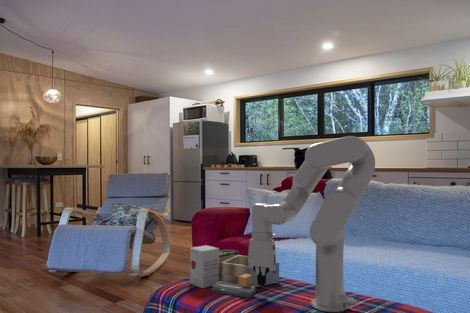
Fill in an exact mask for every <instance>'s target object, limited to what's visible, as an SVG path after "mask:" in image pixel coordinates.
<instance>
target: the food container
mask: <svg viewBox="0 0 470 313" xmlns="http://www.w3.org/2000/svg"><path fill="white" fill-rule="evenodd" d="M237 255H240V253H239V250H236V249H221V250H220V249H219V277H220V263H221V262H223V261H226V260H228V259H230V258H232V257H235V256H237Z"/></svg>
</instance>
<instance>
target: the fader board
mask: <svg viewBox="0 0 470 313" xmlns="http://www.w3.org/2000/svg"><path fill="white" fill-rule="evenodd" d="M210 292H212V293H216V294H224V295H230V296H236V297H241V298H247V299H248V298H250V297H251V296H253V295H254V294H256V293H258V289H257V287H256V286H255V287H253V286H247V288H243V286H240V285H239V284H233V283H227V282H220V280H219V281H218V282H216V283H214V284H213V286H212V287H211V288H210Z"/></svg>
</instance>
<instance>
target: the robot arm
mask: <svg viewBox="0 0 470 313" xmlns="http://www.w3.org/2000/svg"><path fill="white" fill-rule="evenodd" d="M348 163H349V165H348V168H347V169H346V172H345V173H344V175H343V176H342V179H341V181H340V182H339V185H338V186H337V187H336V189H335V190H332V191H331V192H329V194H328V195H327V196H326V197H325V199H324V201H323V202H322V203H321V206H320V208H319V210H318V212H317V213H316V215H315V217H314V219H313V220H312V222H311V225H310V227H309V235H310V236H309V237H310V238H311V241H312V242H313V243H314V244H315V259H314V260H315V262H314V263H315V266H314V267H315V298H313V299H311V302H310V305H311V307H312V308H314V309H316V310H318V311H320V312H321V311H322V312H328V313H341V312H345V311H347V310H348V309H349V306H352V307H357V305H358V304H357V303H358V302H357V299H355V298H354V297H348V296H346V295H347V292H344V250H345V249H344V245H345V226H346V224H347V223H348V221H349V219H350V218H351V215H352V214H354V213H355V211H356V210H357V208H358V205H359V203H360V201H361V199H362V197H363V196H364V194H365V192H366V190H367V188H368V186H369V184H370V182H371V180H372V178H373V176H374V173H375V170H376V169H375V168H376V158H375V155H374V152H373V150H372V149H371V147H370V146H369V144H368V143H367V142H366V141H365V140H364V139H362V138H360V137H357V136H355V135H347V136H343V137H339V138H334V139H331V140H326V141H321V142H317V143H313V144H311V145H310V146H309V147H308V148H307V149H306V150H305V154H304V161H303V162H302V163H301V165H300V167H299V168H298V169H297V171H296V172H295V174H294V175H293V177H292V185H291V187H290V190H289V192H288V193H287V195H286V196H285V198H284V199H283V200H282V201H281V202H280V203H276V204H270V203H267V202H256V203H253V204H252V207H251V238H250V240H249V245H248V252H247V256H248V263H249V265H248V267H249V268H251V269H253V270H254V271H255V272H256V274H257V282H258V286H257V287H259V286H260V287H263V286H265V285H266V284H265V283H266V274H267V273H268V272H269V271H274V270H276V268H275V265H276V262H277V249H276V243H275V240H274V239H273V238H276V234H275V233H273V225H278V226H280V225H281V226H282V225H285V224H287V223H289V222H291V221H293V220H294V219H295V218H296V217H297V215H298V214H299V212H300V211H301V210H302V208H303V207H304V206H305V204H306V203H307V201H308V199H309V197H310V196H311V194H312V193H313V191H314V189H315V188H316V186H317V185H318V184H319V182H320V181H321V179H322V178H323V176H324V175H325V174H326V173H327V171H328V170H329V169H330V167H332V166H337V165H338V166H339V165H342V164H343V165H344V164H348ZM261 267H263V269H262V270H261ZM346 309H347V310H346ZM344 310H345V311H344ZM340 311H341V312H340Z"/></svg>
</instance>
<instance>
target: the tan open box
mask: <svg viewBox="0 0 470 313" xmlns="http://www.w3.org/2000/svg"><path fill="white" fill-rule="evenodd" d="M248 265H249V263H248V255H241V254H239V255H237V256H235V257H232V258H230V259H228V260H226V261H223V262H221V263H220V276H219V281H220V282H227V283H233V284H239V276H241V275H243V274H246V266H248Z"/></svg>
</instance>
